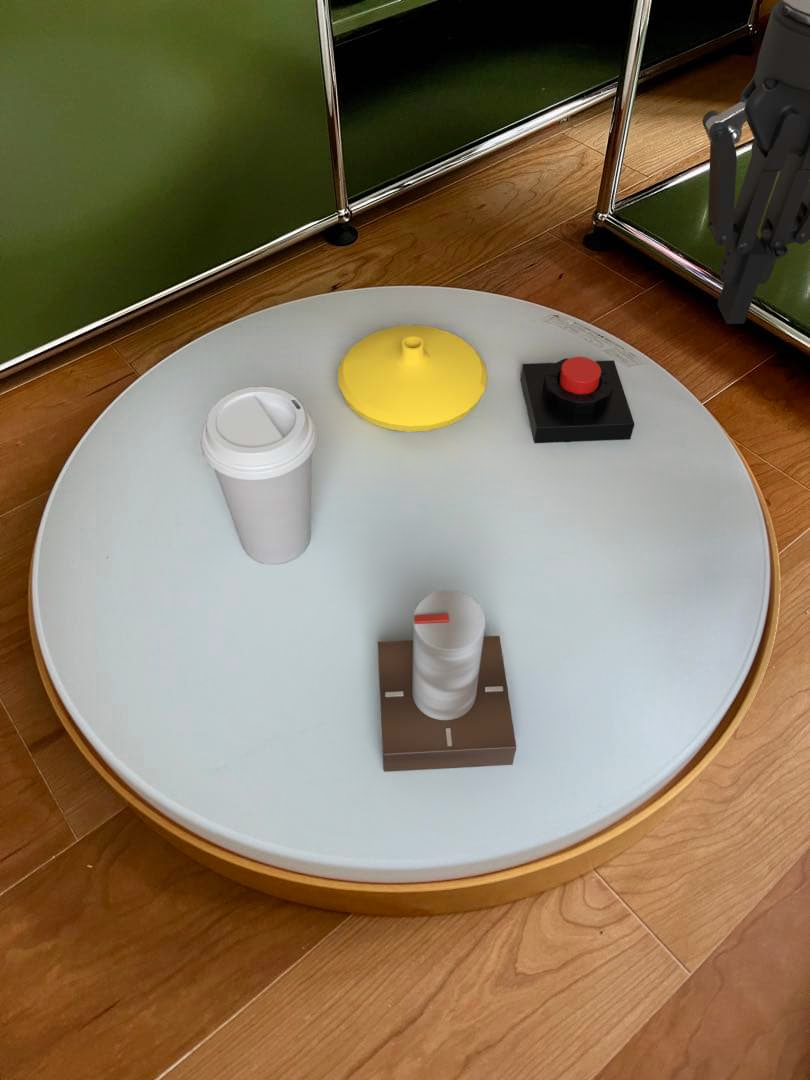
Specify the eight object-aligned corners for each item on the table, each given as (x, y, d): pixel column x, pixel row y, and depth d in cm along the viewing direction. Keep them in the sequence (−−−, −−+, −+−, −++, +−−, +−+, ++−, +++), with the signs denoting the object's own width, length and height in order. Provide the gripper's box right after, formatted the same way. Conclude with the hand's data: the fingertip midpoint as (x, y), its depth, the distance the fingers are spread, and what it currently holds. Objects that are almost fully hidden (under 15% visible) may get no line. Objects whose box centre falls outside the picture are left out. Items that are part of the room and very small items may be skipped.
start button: (601, 394, 91) (604, 381, 90) (562, 396, 91) (565, 382, 90) (594, 369, 94) (597, 355, 92) (556, 370, 93) (558, 357, 92)
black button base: (630, 439, 92) (638, 410, 89) (534, 443, 92) (538, 414, 89) (610, 375, 98) (617, 346, 95) (520, 379, 98) (524, 350, 95)
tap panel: (512, 765, 69) (516, 746, 67) (383, 772, 69) (383, 753, 66) (496, 654, 76) (499, 634, 73) (378, 660, 75) (377, 640, 73)
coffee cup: (331, 572, 81) (319, 455, 70) (225, 583, 80) (195, 467, 69) (323, 494, 87) (311, 375, 76) (224, 504, 86) (196, 385, 75)
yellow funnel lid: (379, 466, 90) (377, 414, 84) (315, 375, 98) (310, 322, 93) (513, 417, 94) (520, 364, 89) (440, 333, 103) (442, 281, 98)
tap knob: (472, 662, 72) (481, 586, 64) (479, 718, 68) (489, 645, 60) (410, 666, 71) (411, 589, 63) (414, 722, 68) (416, 649, 60)
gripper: (753, 34, 55) (665, 344, 73) (960, 29, 55) (821, 338, 73) (718, -13, 59) (644, 290, 78) (909, -17, 60) (791, 284, 78)
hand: (730, 313), depth 76 cm, fingers closed
